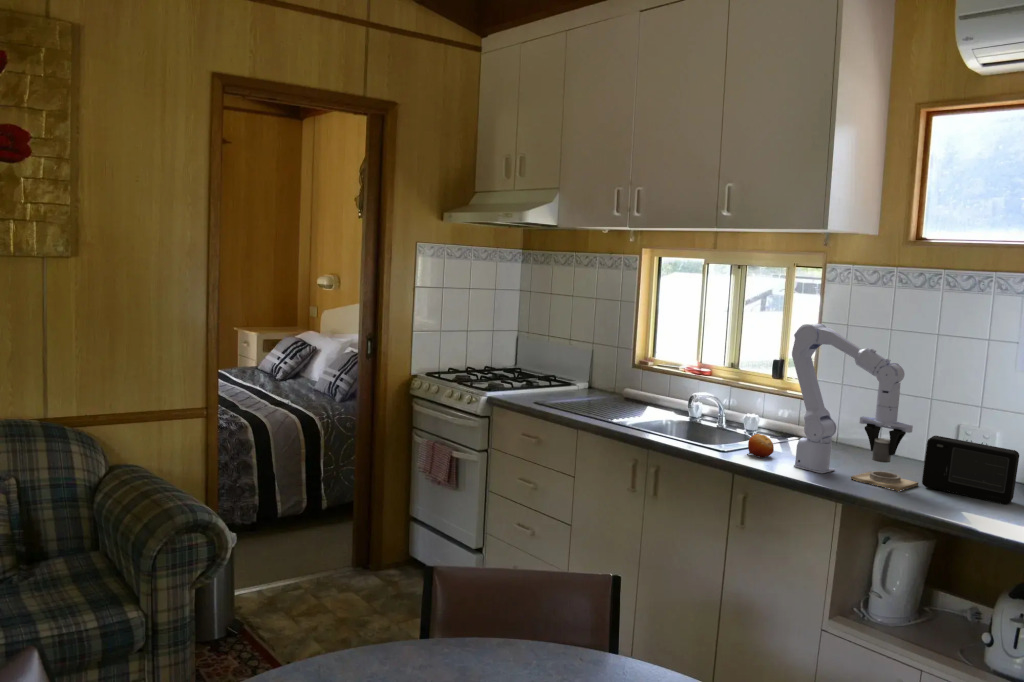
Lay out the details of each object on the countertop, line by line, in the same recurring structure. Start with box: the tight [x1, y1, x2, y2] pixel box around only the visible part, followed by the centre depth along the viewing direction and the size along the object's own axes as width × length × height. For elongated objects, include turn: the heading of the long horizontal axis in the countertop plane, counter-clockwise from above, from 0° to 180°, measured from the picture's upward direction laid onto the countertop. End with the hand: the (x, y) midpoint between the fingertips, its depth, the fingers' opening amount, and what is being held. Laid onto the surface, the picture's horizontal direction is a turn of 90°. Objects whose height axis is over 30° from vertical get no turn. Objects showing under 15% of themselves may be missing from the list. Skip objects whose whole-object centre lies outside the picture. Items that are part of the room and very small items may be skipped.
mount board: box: [850, 470, 919, 492], centre depth 244 cm, size 14×12×2 cm
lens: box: [871, 437, 892, 463], centre depth 242 cm, size 5×5×6 cm
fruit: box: [746, 433, 774, 459], centre depth 269 cm, size 8×8×8 cm
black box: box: [921, 435, 1020, 505], centre depth 236 cm, size 23×10×15 cm, turn 50°
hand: (882, 452), depth 242 cm, fingers closed on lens, 5 cm apart
